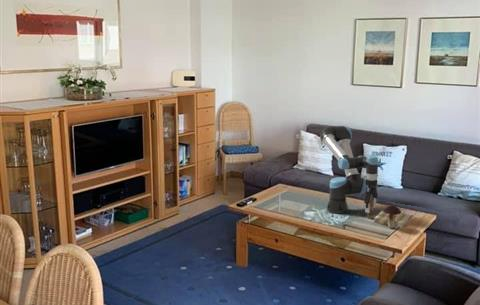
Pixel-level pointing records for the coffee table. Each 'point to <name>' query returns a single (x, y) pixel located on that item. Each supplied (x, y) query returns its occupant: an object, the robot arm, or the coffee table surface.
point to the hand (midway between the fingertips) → (370, 209)
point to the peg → (371, 208)
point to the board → (384, 217)
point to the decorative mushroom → (392, 214)
